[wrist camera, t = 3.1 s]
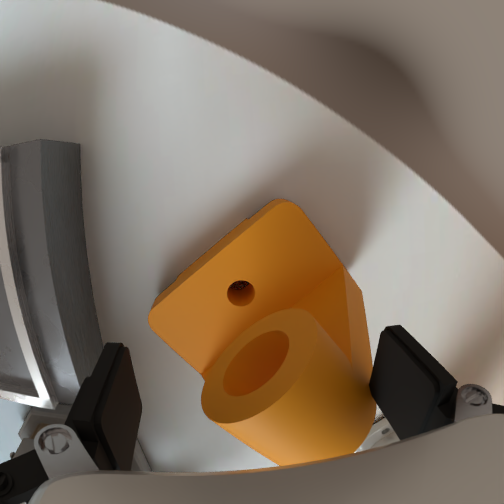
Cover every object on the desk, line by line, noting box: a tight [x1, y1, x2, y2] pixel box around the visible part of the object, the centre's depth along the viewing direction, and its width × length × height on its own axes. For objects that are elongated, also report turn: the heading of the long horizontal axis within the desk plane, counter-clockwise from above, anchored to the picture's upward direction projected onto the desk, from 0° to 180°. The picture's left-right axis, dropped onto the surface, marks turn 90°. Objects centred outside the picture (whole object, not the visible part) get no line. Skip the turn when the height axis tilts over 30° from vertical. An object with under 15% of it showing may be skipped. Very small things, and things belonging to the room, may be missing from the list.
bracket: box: [148, 199, 376, 466], centre depth 15 cm, size 11×7×12 cm, turn 129°
